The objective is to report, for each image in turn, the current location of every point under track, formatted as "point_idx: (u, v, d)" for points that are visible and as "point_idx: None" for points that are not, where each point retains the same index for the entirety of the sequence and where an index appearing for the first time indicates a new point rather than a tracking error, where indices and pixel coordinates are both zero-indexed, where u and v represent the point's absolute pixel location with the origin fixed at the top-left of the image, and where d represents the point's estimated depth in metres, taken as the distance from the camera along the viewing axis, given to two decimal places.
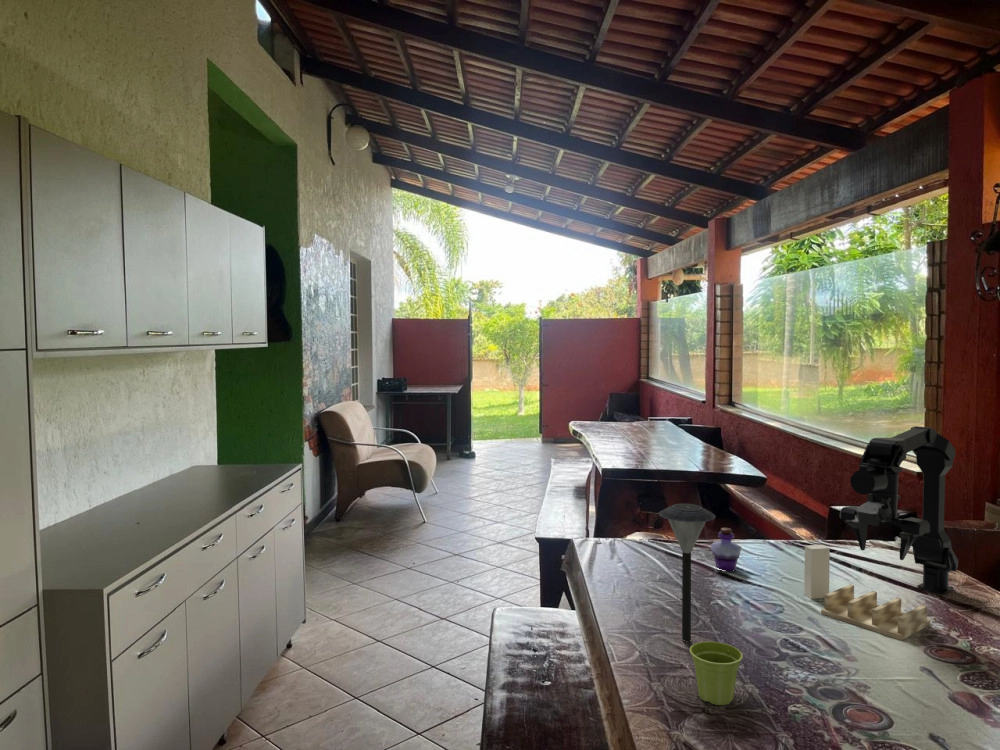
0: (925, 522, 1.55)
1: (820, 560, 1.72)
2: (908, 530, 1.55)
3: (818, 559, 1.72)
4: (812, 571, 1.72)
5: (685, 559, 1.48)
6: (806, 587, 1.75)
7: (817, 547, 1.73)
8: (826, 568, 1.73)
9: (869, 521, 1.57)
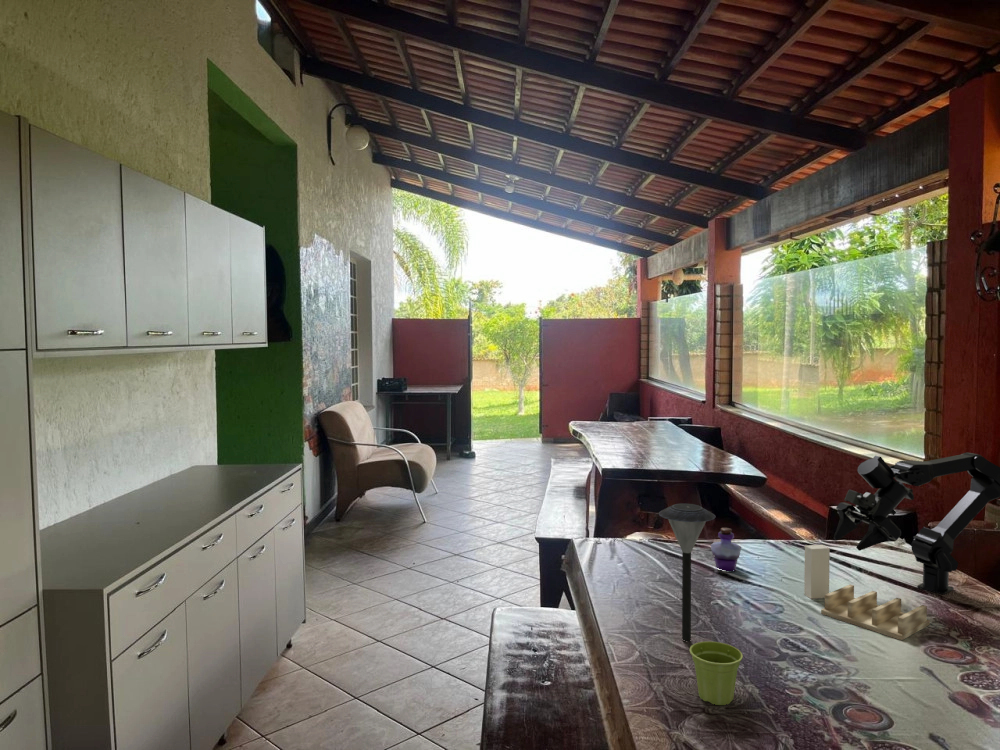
0: (897, 527, 1.66)
1: (820, 560, 1.72)
2: (877, 520, 1.68)
3: (818, 559, 1.72)
4: (812, 571, 1.72)
5: (685, 559, 1.48)
6: (806, 587, 1.75)
7: (817, 547, 1.73)
8: (826, 568, 1.73)
9: (851, 498, 1.74)
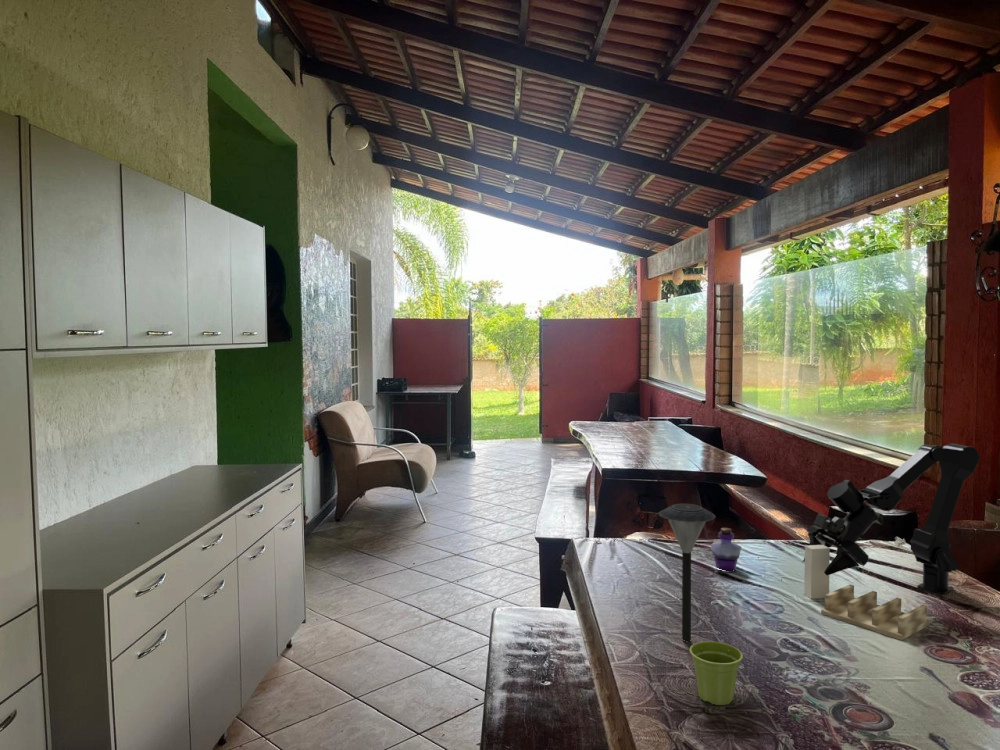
0: (865, 553, 1.66)
1: (820, 560, 1.72)
2: (845, 546, 1.67)
3: (818, 559, 1.72)
4: (812, 571, 1.72)
5: (685, 559, 1.48)
6: (806, 587, 1.75)
7: (817, 547, 1.73)
8: None
9: (820, 522, 1.73)
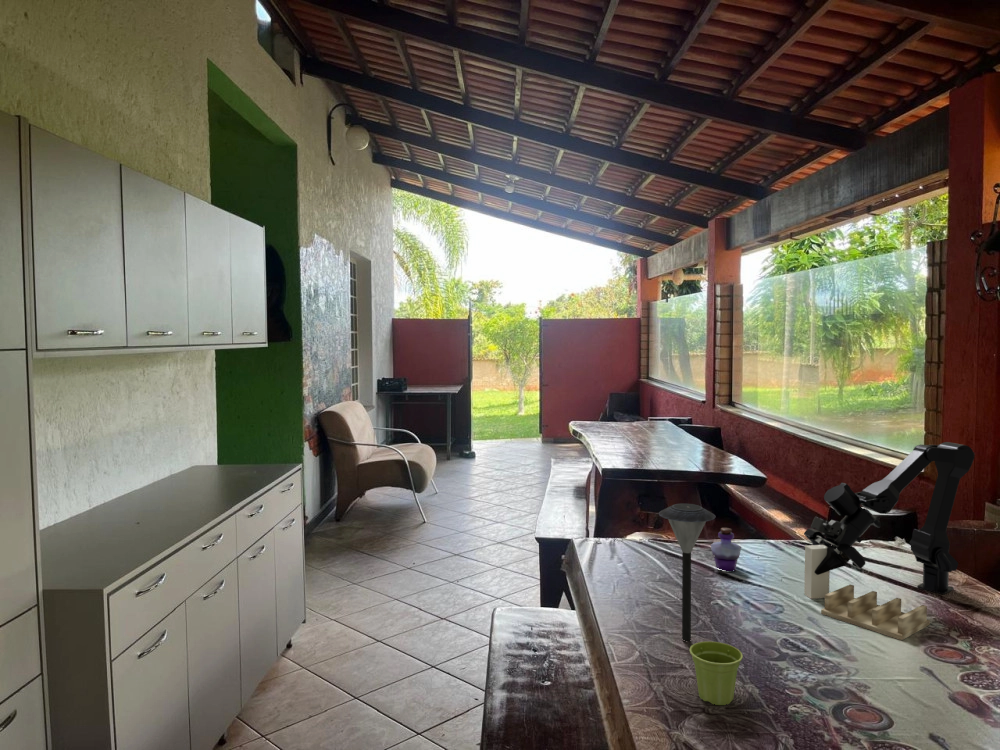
0: (861, 556, 1.66)
1: (820, 561, 1.72)
2: (842, 549, 1.67)
3: (818, 560, 1.72)
4: (813, 571, 1.72)
5: (685, 559, 1.48)
6: (806, 587, 1.75)
7: (817, 547, 1.73)
8: None
9: (817, 526, 1.73)
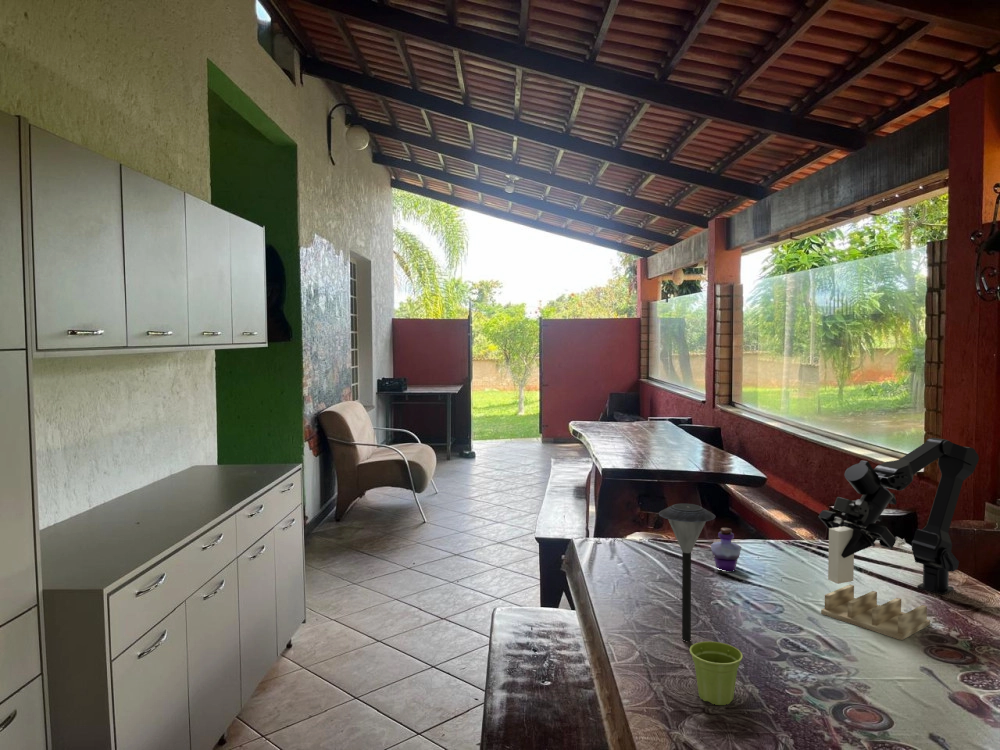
0: (892, 535, 1.60)
1: (846, 543, 1.65)
2: (873, 529, 1.60)
3: (844, 542, 1.64)
4: (839, 555, 1.64)
5: (685, 559, 1.48)
6: (831, 572, 1.66)
7: (842, 529, 1.65)
8: None
9: (843, 507, 1.65)
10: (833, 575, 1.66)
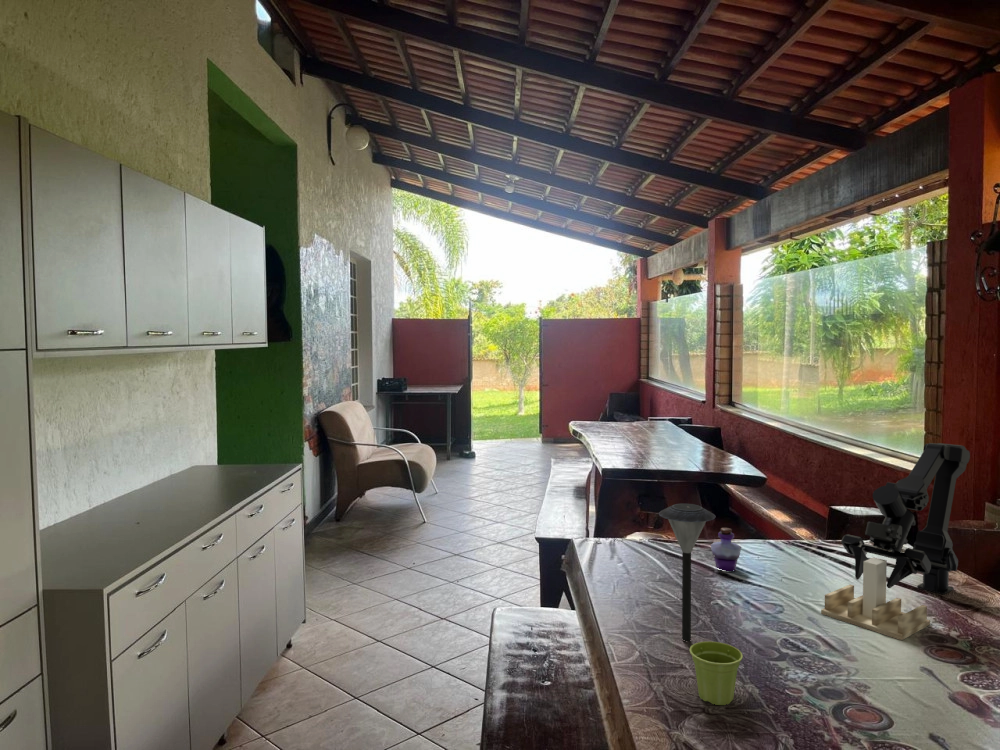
0: (928, 560, 1.55)
1: (881, 576, 1.58)
2: (912, 555, 1.54)
3: (880, 575, 1.58)
4: (877, 589, 1.57)
5: (685, 559, 1.48)
6: (866, 607, 1.59)
7: (876, 561, 1.58)
8: (884, 583, 1.59)
9: (878, 532, 1.58)
10: (869, 610, 1.58)
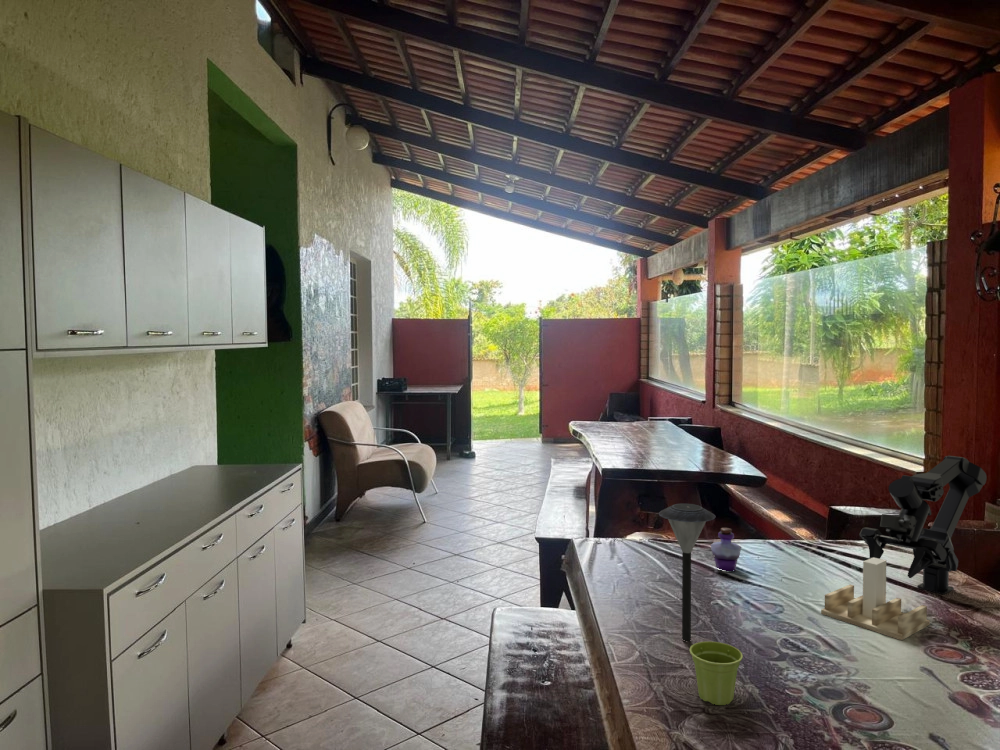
0: (943, 548, 1.60)
1: (881, 576, 1.58)
2: (926, 544, 1.60)
3: (880, 575, 1.58)
4: (877, 589, 1.57)
5: (685, 559, 1.48)
6: (866, 607, 1.59)
7: (876, 561, 1.59)
8: (884, 583, 1.59)
9: (891, 523, 1.64)
10: (869, 610, 1.58)
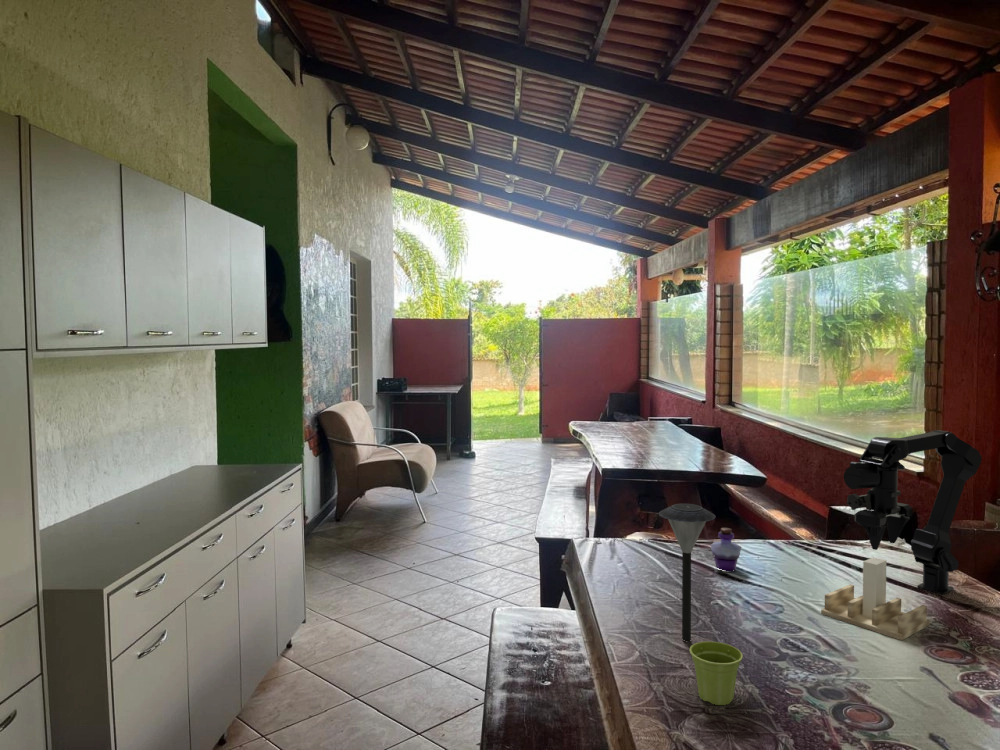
0: (870, 514, 1.67)
1: (881, 576, 1.58)
2: None
3: (880, 575, 1.58)
4: (877, 589, 1.57)
5: (685, 559, 1.48)
6: (866, 607, 1.59)
7: (876, 561, 1.59)
8: (884, 583, 1.59)
9: None
10: (869, 610, 1.58)
